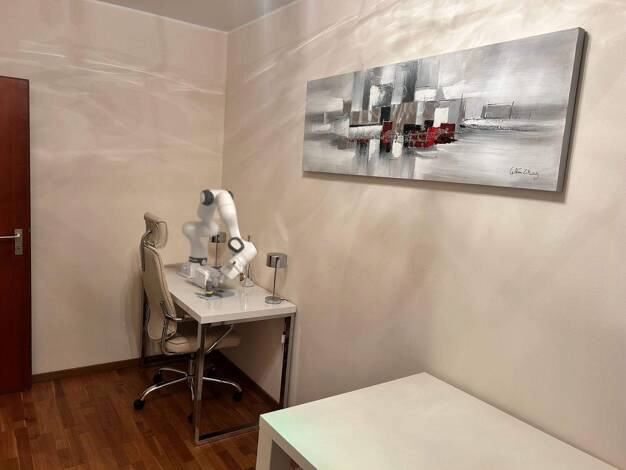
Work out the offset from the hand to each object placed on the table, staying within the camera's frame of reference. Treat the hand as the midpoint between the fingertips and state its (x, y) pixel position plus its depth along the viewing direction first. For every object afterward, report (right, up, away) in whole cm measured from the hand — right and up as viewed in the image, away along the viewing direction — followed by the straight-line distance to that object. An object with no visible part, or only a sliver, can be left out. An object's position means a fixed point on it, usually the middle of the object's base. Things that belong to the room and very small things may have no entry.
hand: (218, 280), depth 290 cm
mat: (-6, -10, -1) cm, 12 cm away
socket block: (0, -9, +8) cm, 12 cm away
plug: (-6, -9, -1) cm, 11 cm away
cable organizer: (-13, -6, +25) cm, 29 cm away
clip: (-9, -5, +10) cm, 14 cm away
